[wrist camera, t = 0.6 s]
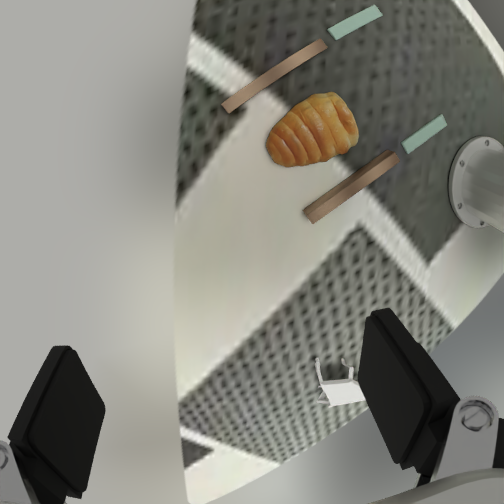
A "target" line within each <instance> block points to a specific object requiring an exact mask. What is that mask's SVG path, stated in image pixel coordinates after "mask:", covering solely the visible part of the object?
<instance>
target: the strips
mask: <svg viewBox="0 0 504 504" xmlns="http://www.w3.org/2000/svg"><path fill="white" fill-rule="evenodd" d="M381 16H383V15H382V14H381V12H380V11H379V10H378V8H377V7H376V6H375V5H373V6H371V7H369V8H367V9H365V10H363V11H361V12H359V13H357V14H355V15H353V16H351V17H349V18H347V19H346V20H344V21H342V22H340V23H338V24H336V25H334V26H333V27H331V28H329V29H327V31H328V32H329V33H330V35H331V36H332V37H333V38H334V40H335V41H336V40H338V39H339V38H341V37H343V36H345V35H347V34H348V33H350V32H352V31H354V30H356V29H357V28H359V27H361V26H363V25H365V24H367V23H369V22H371V21H373V20H375V19H377V18H379V17H381ZM445 126H447V124H446V121H445V119H444V117H443V115H442V114H440V115H439V116H437V117H436V118H434V119H433V120H432V121H430V122H429V123H427V124H426V125H425V126H423V127H422V128H420V129H419V130H418V131H416V132H415V133H413V134H412V135H411V136H409V137H408V138H406V139H405V140H404V141H402V142H401V144H402V146H403V148H404V150H405V152H406V154H409V153H410V152H411V151H413V150H414V149H416V148H417V147H418V146H420V145H421V144H422V143H424V142H425V141H426V140H428V139H429V138H431V137H432V136H433V135H435V134H436V133H437V132H439V131H440V130H441V129H443V128H444V127H445Z"/></svg>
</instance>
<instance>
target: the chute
mask: <svg viewBox="0 0 504 504" xmlns="http://www.w3.org/2000/svg"><path fill="white" fill-rule="evenodd" d="M326 48H328V47H327V46H326V45H325V43H324V42H323V41H322V40H321V38H320V39H318V40H317V41H315V42H313V43H311V44H310V45H308V46H306V47H305V48H303V49H302V50H300V51H298V52H297V53H295V54H293V55H292V56H290V57H289V58H287V59H285V60H284V61H282V62H281V63H279V64H278V65H276V66H275V67H273V68H272V69H270V70H269V71H267V72H266V73H264V74H263V75H261V76H260V77H258V78H257V79H255V80H254V81H252V82H251V83H250V84H248V85H247V86H245V87H244V88H242V89H241V90H240V91H238V92H237V93H235V94H234V95H233V96H231V97H230V98H229V99H227V100H226V101H225V102H223V103H222V104H221V105H222V106H223V107H224V108H225V110H226V111H227V112H228V113H231V112H232V111H233V110H235V109H236V108H237V107H239V106H240V105H242V104H243V103H244V102H246V101H247V100H249V99H250V98H251V97H253V96H254V95H256V94H257V93H258V92H260V91H261V90H263V89H264V88H266V87H267V86H269V85H270V84H272V83H273V82H274V81H276V80H277V79H279V78H280V77H282V76H283V75H285V74H287V73H288V72H290V71H291V70H293V69H294V68H296V67H297V66H299V65H301V64H302V63H304V62H305V61H307V60H309V59H310V58H312V57H313V56H315V55H317V54H318V53H320V52H322V51H323V50H325V49H326ZM398 162H400V160H399V159H398V157H397V155H396V153H395V152H393V151H389V150H386V151H385V152H383V153H382V154H380V155H379V156H378V157H376V158H375V159H373V160H372V161H371V162H369V163H368V164H366V165H365V166H364V167H362V168H361V169H359V170H358V171H357V172H355V173H354V174H352V175H351V176H350V177H348V178H347V179H345V180H344V181H343V182H341V183H340V184H338V185H337V186H336V187H334V188H333V189H331V190H330V191H329V192H327V193H326V194H325V195H323V196H322V197H320V198H319V199H318V200H316V201H315V202H313V203H312V204H311V205H309V206H308V207H306V208H305V209H304V210H303V212H304V213H305V214H306V216H307V217H308V219H309V220H310V221H311V223H312V224H314V223H315V222H317V221H318V220H320V219H321V218H322V217H324V216H325V215H327V214H328V213H329V212H331V211H332V210H334V209H335V208H336V207H338V206H339V205H341V204H342V203H343V202H345V201H346V200H347V199H349V198H350V197H352V196H353V195H354V194H356V193H357V192H359V191H360V190H361V189H363V188H364V187H365V186H367V185H368V184H370V183H371V182H372V181H374V180H375V179H377V178H378V177H379V176H381V175H382V174H383V173H385V172H386V171H387V170H389V169H390V168H392V167H393V166H394V165H396V164H397V163H398Z"/></svg>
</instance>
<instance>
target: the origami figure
mask: <svg viewBox="0 0 504 504" xmlns="http://www.w3.org/2000/svg"><path fill="white" fill-rule="evenodd" d="M315 360H316V363H315V367H316V372H317V375H318V378H319V381H320V385H321V386H319V387H322V389H323V390H324V391H323V392H322V394H321V395H320V397H319V398H318V399H317V401H316V402H318V403H326V404H329V405H328V407H332V406H336V405H342V404H347V403H353V402H358V401H363V400H366V399H365V397H364V395H363V393H362V391H361V389H360V387H359V384H358V382H357V381H355V380H353V371H354V368H353V367H352V366H349V365H347V364H345V360H344V359H343V358H341V360H342V364H343V365H344V366H346V367H348V368H349V379H342V380H330V381H323V379H322V376H321V373H320V362H319V358H316V359H315ZM319 387H318V388H319ZM326 395H327V397H328V399H324V398H325V396H326Z"/></svg>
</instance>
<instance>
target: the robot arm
mask: <svg viewBox="0 0 504 504" xmlns="http://www.w3.org/2000/svg"><path fill="white" fill-rule="evenodd" d="M449 197H450V202H451V205H452V208H453V210H454V212H455V214H456V216H457V217H458V218H459V219H460V220H461V221H462V222H464V223H465V224H467V225H469V226H471V227H474V228H483V227H486V226H488V225H491V226H493V227H494V228H496V229H498V230H500V231H501V232H503V233H504V147H503V146H502V145H501V143H500V142H498V141H497V140H495V139H493V138H490V137H485V136H478V137H474V138H472V139H470V140H469V141H467V142H466V143H465V144H464V145H463V146H462V147H461V148H460V150H459V151H458V153H457V155H456V156H455V159H454V161H453V164H452V167H451V171H450V175H449ZM358 384H359V387H360V389H361V391H362V393H363V395H364V397H365V399H366V402H367V404H368V406H369V408H370V410H371V412H372V415H373V417H374V419H375V421H376V423H377V426H378V428H379V430H380V432H381V434H382V437H383V439H384V441H385V443H386V446H387V448H388V450H389V453H390V455H391V457H392V459H393V461H394V463H396V464H398V463H400V466H401V468H402V470H404V469H407V468H410V467H412V466H414V467H415V469H416V471H417V473H418V476H417V479H416V482H415V484H414V487H413V489H411V490H408V491H406V492H403V493H400V494H397V495H394V496H391V497H388V498H385V499H382V500H379V501H375V502H372V503H369V504H504V419H502V418H499V417H498V411H497V409H496V407H495V406H494V405H493V403H492V402H491V401H489V400H487V399H486V398H483V397H480V396H469V397H466V398H464V399H462V400H460V398H459V397H458V395H457V394H456V392H455V391H454V390H453V388H452V387H451V385H450V384H449V383H448V381H447V380H446V378H445V377H444V375H443V374H442V373H441V371H440V370H439V369H438V367H437V366H436V364H435V363H434V362H433V360H432V359H431V357H430V356H429V355H428V353H427V352H426V351H425V349H424V348H423V347H422V346H421V345H420V344H419V343H417V342H416V341H415V340H414V338H413V337H412V336H411V334H410V333H409V332H408V330H407V329H406V328H405V326H404V325H403V324H402V323H401V321H400V320H399V319H398V317H397V316H396V315H395V314H394V312H393V311H392V310H391V309H390V308H385V309H380V310H375V311H372V312H371V315H370V316H369V317H367V318H366V322H365V330H364V337H363V345H362V352H361V358H360V365H359V371H358ZM104 415H105V405H104V402H103V401H102V399H101V397H100V395H99V394H98V392H97V390H96V388H95V387H94V385H93V383H92V381H91V379H90V377H89V375H88V373H87V372H86V370H85V368H84V366H83V364H82V362H81V360H80V358H79V356H78V354H77V352H76V351H75V350H73V349H72V348H71V347H70V346H53V348H52V349H51V351H50V352H49V354H48V356H47V358H46V360H45V361H44V363H43V365H42V367H41V369H40V371H39V373H38V374H37V376H36V378H35V380H34V382H33V384H32V386H31V388H30V390H29V392H28V394H27V396H26V398H25V400H24V402H23V404H22V406H21V409H20V411H19V413H18V415H17V417H16V419H15V422H14V424H13V426H12V428H11V430H10V433H9V435H8V439H9V440H10V441H11V442H10V444H9V445H8V444H7V443H6V442H4V441H0V504H67V503H66V502H65V499H66V495H67V496H68V497H73V498H78V499H81V498H82V493H83V492H84V491H86V489H87V485H88V480H89V476H90V471H91V467H92V463H93V458H94V454H95V450H96V446H97V442H98V438H99V434H100V430H101V426H102V422H103V419H104Z"/></svg>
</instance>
